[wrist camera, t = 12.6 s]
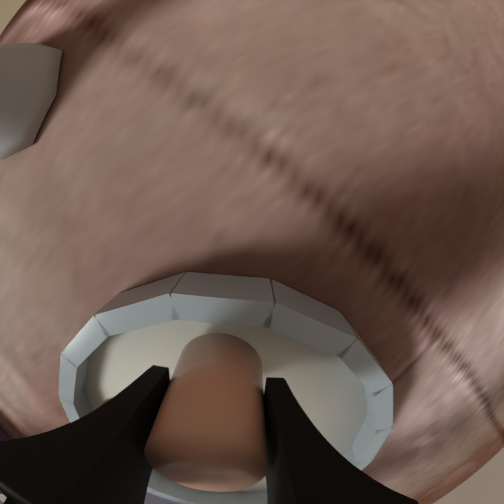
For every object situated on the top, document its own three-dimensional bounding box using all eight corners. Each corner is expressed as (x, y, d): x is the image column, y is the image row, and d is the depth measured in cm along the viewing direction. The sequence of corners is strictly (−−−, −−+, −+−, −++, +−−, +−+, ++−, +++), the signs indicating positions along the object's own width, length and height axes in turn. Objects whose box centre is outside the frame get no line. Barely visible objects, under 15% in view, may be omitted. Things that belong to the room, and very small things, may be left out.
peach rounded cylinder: (258, 399, 11) (260, 494, 6) (182, 392, 11) (155, 481, 6) (266, 336, 10) (275, 438, 5) (177, 328, 10) (133, 420, 5)
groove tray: (332, 484, 16) (337, 506, 13) (115, 465, 16) (107, 485, 13) (415, 285, 12) (443, 305, 9) (55, 257, 12) (25, 271, 9)
